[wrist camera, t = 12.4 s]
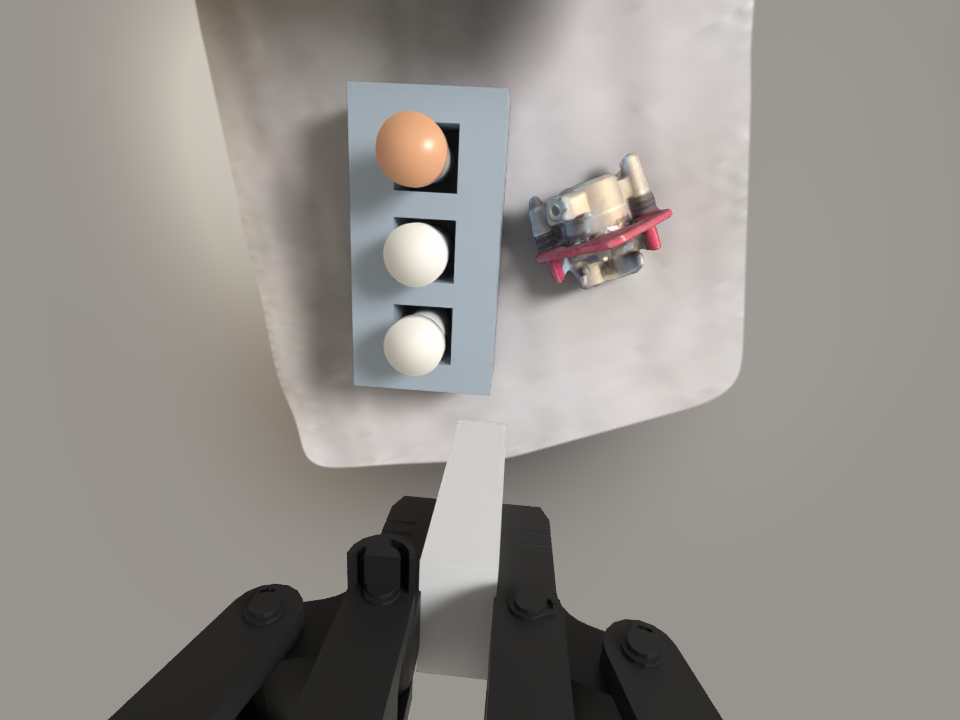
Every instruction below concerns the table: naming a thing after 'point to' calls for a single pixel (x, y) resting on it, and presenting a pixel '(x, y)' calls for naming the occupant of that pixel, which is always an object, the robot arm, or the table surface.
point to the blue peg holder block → (449, 204)
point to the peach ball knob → (413, 150)
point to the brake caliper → (598, 226)
